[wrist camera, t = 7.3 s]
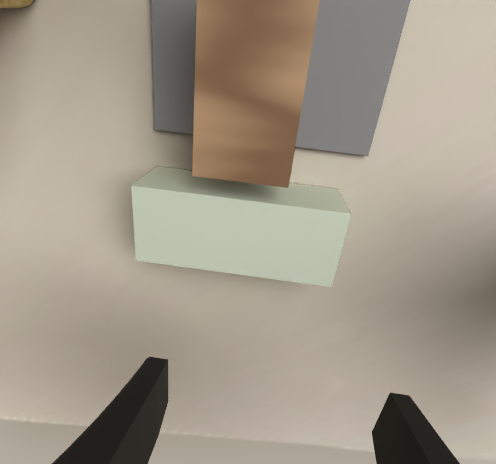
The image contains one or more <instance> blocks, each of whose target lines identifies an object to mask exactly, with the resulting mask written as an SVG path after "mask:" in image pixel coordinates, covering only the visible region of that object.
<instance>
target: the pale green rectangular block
mask: <svg viewBox="0 0 496 464" xmlns="http://www.w3.org/2000/svg"><path fill="white" fill-rule="evenodd" d="M131 191H132V207H133V224H134V240H135V257H136V261H142V262H150V263H157V264H165V265H172V266H179V267H187V268H194V269H202V270H209V271H216V272H224V273H231V274H238V275H246V276H253V277H261V278H268V279H275V280H283V281H290V282H298V283H305V284H312V285H320V286H327V287H332V285H333V281H334V277H335V274H336V270H337V266H338V262H339V259H340V255H341V251H342V248H343V244H344V240H345V237H346V233H347V229H348V225H349V222H350V218H351V212H350V210H349V208H348V206H347V204H346V203H345V201H344V199H343V197H342V195H341V193H340V191H339V189H334V188H326V187H318V186H310V185H302V184H294V183H289V186H288V188H284V187H277V186H269V185H261V184H253V183H245V182H237V181H229V180H221V179H213V178H206V177H198V176H192V171H191V170H183V169H175V168H167V167H160V166H157V167H156V168H154V169H153V170H151V171H150V172H149V173H147V174H146V175H145V176H143V177H142V178H141V179H139V180H138V181H137V182H135V183H134V184H133V185H131Z"/></svg>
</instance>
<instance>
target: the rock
mask: <svg viewBox="0 0 496 464" xmlns="http://www.w3.org/2000/svg"><path fill="white" fill-rule="evenodd" d="M33 1H34V0H0V8H23V7H27V6H29V5H31V4H32V2H33Z"/></svg>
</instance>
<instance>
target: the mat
mask: <svg viewBox="0 0 496 464" xmlns="http://www.w3.org/2000/svg"><path fill="white" fill-rule="evenodd" d="M409 3H410V0H320V1H319V7H318V13H317V19H316V25H315V31H314V37H313V43H312V49H311V55H310V61H309V67H308V73H307V79H306V85H305V91H304V97H303V103H302V109H301V115H300V121H299V127H298V133H297V139H296V145H295V147H300V148H308V149H316V150H324V151H332V152H341V153H349V154H357V155H365V156H368V154H369V151H370V147H371V143H372V140H373V136H374V132H375V129H376V125H377V121H378V118H379V114H380V110H381V107H382V103H383V99H384V95H385V92H386V88H387V84H388V81H389V77H390V73H391V70H392V66H393V62H394V59H395V55H396V51H397V48H398V44H399V40H400V36H401V33H402V29H403V25H404V22H405V18H406V14H407V11H408V7H409ZM151 11H152V51H153V92H154V130H162V131H170V132H178V133H186V134H193V125H194V89H195V52H196V15H197V0H151Z"/></svg>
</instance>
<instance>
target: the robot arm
mask: <svg viewBox="0 0 496 464" xmlns="http://www.w3.org/2000/svg"><path fill="white" fill-rule="evenodd" d="M167 403H168V360H167V359H160V358H154V357H149V358H147V359H146V360H145V361H144V363H143V364H142V365H141V367H140V368H139V369H138V371H137V372H136V373H135V374H134V376H133V377H132V378H131V379H130V381H129V382H128V383H127V384H126V385H125V387H124V388H123V389H122V390H121V391H120V393H119V394H118V395H117V396H116V397H115V398H114V400H113V401H112V402H111V403H110V404H109V405H108V406H107V407H106V409H105V410H104V411H103V412H102V413H101V414H100V415H99V416H98V418H97V419H96V420H95V421H94V422H93V423H92V424H91V425H90V426H89V427H88V428H87V429H86V430H85V431H84V432H83V433H82V434H81V436H79V437H78V438H77V439H76V440H75V441H74V443H73V444H72V445H71V446H70V447H69V448H68V449H67V450H66V451H65V452H64V453H63V454H62V455H60V456H59V458H58V459H56V460H55V461H54V462H53V463H52V464H148V461H149V458H150V456H151V453H152V451H153V448H154V445H155V443H156V440H157V438H158V435H159V431H160V428H161V425H162V421H163V418H164V414H165V410H166V407H167ZM372 436H373V443H374V450H375V455H376V461H377V464H460V463H459V462H458V461H457V459H456V458H455V457H454V455H453V454H452V453H451V451H450V450H449V449H448V447H447V446H446V445H445V443H444V442H443V441H442V439H441V438H440V437H439V435H438V434H437V433H436V431H435V430H434V429H433V427H432V426H431V424H430V423H429V422H428V420H427V419H426V418H425V416H424V415H423V414H422V412H421V411H420V409H419V408H418V407H417V405H416V404H415V403H414V401H413V400H412V399H411V397H410V396H408V395H402V394H395V393H390V394H389V396H388V398H387V401H386V403H385V405H384V407H383V409H382V411H381V414H380V416H379V418H378V420H377V422H376V424H375V427H374V429H373V431H372Z"/></svg>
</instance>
